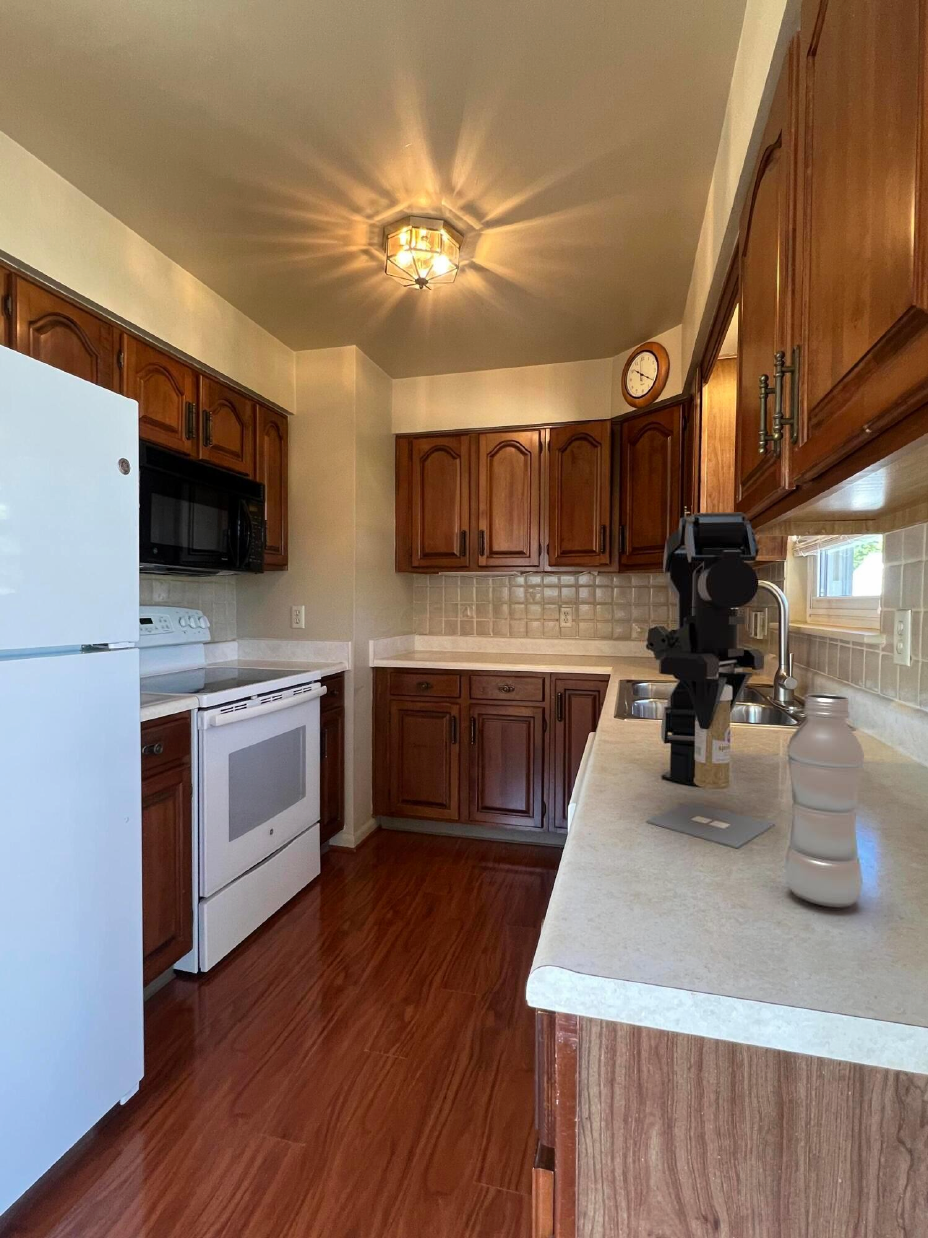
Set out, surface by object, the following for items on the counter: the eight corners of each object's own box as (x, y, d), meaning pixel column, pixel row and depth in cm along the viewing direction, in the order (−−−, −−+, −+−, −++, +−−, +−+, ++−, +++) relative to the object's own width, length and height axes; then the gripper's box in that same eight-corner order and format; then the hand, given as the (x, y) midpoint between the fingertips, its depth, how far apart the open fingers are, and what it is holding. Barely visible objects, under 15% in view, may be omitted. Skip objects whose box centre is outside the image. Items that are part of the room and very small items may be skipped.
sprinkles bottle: (730, 792, 79) (733, 687, 78) (692, 788, 80) (694, 684, 80) (729, 782, 83) (731, 683, 83) (693, 779, 85) (695, 681, 84)
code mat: (688, 803, 90) (688, 801, 90) (775, 825, 81) (775, 823, 81) (646, 822, 82) (646, 820, 82) (737, 848, 73) (737, 847, 73)
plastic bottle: (879, 914, 58) (885, 701, 57) (814, 919, 57) (820, 702, 56) (827, 883, 64) (832, 691, 64) (768, 887, 63) (773, 692, 63)
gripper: (689, 608, 93) (687, 710, 94) (622, 607, 80) (620, 726, 81) (766, 609, 85) (763, 721, 86) (706, 608, 72) (703, 740, 73)
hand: (712, 726), depth 81 cm, fingers closed on sprinkles bottle, 4 cm apart
